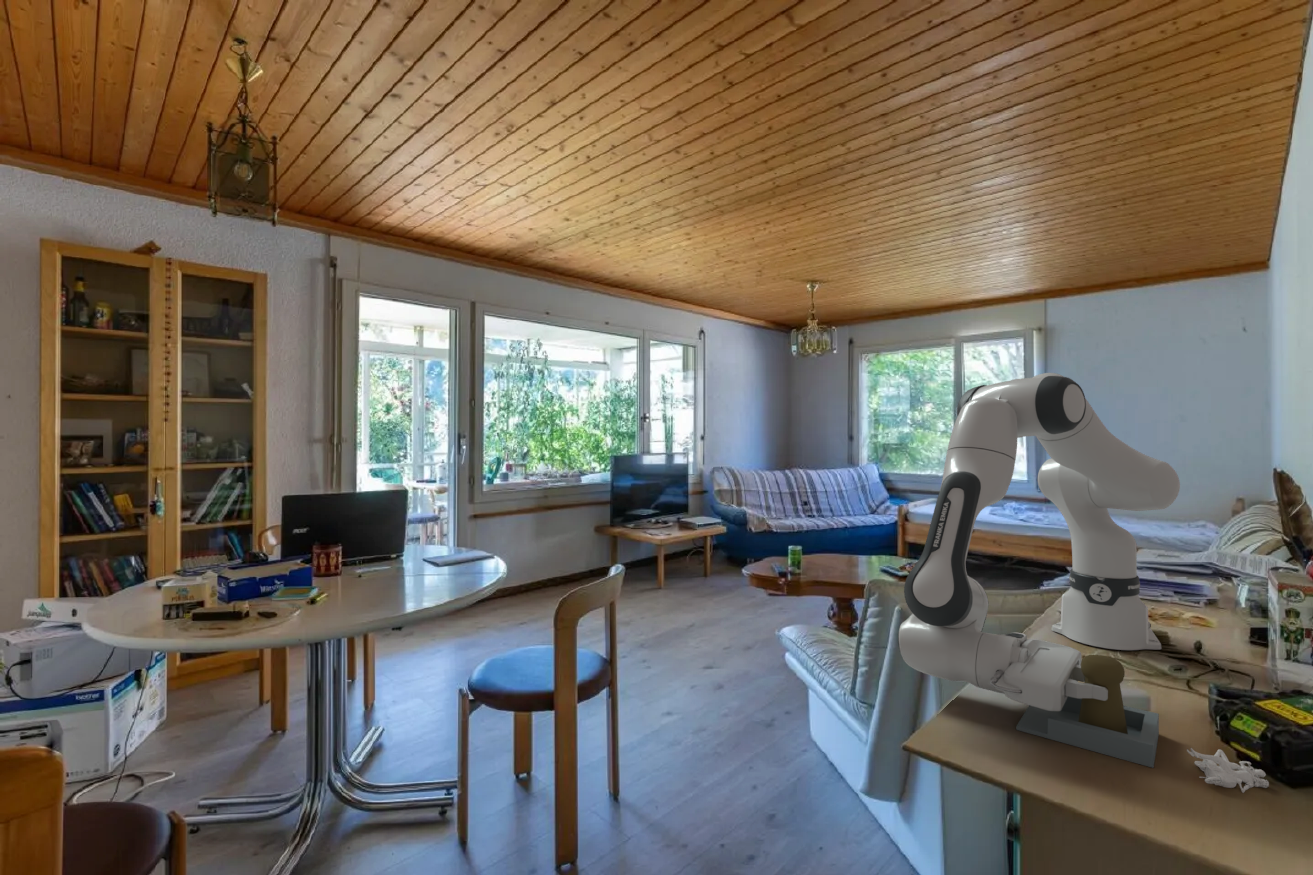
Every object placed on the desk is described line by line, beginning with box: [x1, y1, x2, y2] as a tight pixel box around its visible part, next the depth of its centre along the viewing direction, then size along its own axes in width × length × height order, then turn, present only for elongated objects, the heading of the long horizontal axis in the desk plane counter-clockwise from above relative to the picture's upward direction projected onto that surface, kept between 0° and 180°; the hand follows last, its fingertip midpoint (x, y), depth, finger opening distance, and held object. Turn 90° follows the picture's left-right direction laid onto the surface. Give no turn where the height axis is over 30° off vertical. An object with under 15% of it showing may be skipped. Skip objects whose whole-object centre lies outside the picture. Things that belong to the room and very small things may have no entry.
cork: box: [1078, 654, 1128, 734], centre depth 90 cm, size 6×6×11 cm
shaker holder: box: [1016, 696, 1160, 769], centre depth 91 cm, size 12×16×3 cm
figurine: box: [1186, 747, 1270, 794], centre depth 79 cm, size 3×8×8 cm
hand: (1110, 687), depth 89 cm, fingers closed on cork, 4 cm apart
